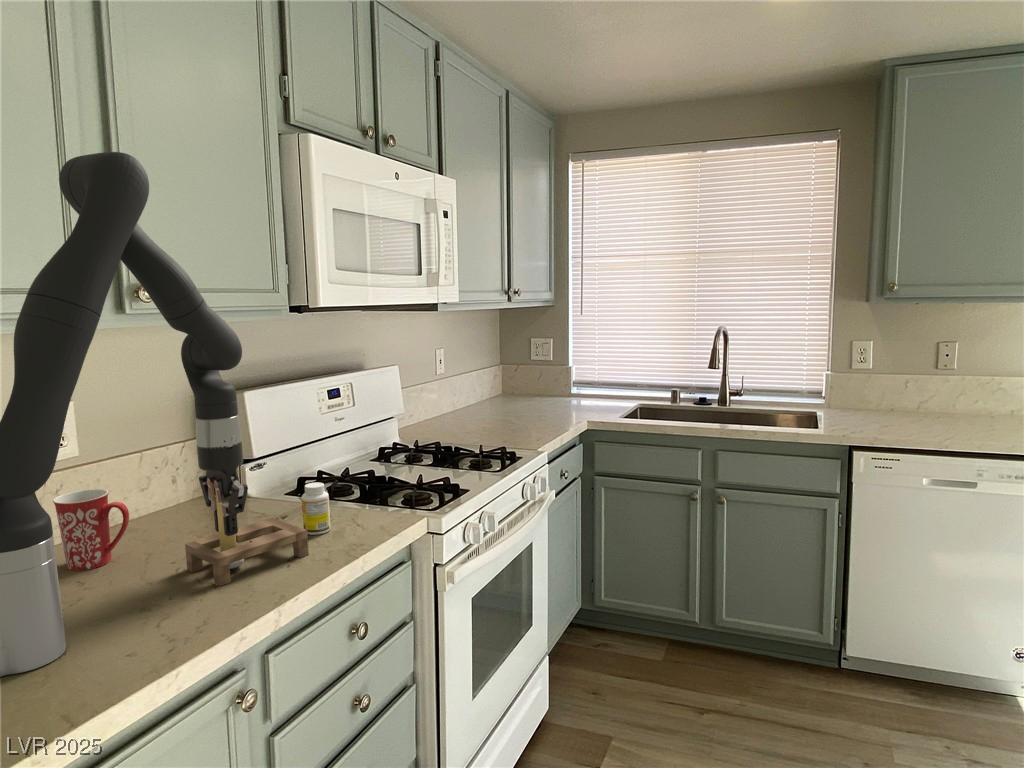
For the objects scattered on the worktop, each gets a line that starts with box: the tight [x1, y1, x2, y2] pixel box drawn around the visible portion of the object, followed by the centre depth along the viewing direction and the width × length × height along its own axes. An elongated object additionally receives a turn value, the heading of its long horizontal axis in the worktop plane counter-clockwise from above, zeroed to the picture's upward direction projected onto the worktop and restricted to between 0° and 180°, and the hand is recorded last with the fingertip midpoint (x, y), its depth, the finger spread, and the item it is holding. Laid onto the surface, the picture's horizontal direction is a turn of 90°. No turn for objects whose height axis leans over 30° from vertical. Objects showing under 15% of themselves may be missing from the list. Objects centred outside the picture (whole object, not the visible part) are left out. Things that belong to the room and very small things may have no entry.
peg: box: [215, 489, 245, 570], centre depth 128 cm, size 5×5×15 cm
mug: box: [52, 488, 130, 571], centre depth 132 cm, size 13×9×14 cm
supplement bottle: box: [301, 481, 331, 536], centre depth 147 cm, size 6×6×10 cm
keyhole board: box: [184, 517, 309, 587], centre depth 131 cm, size 18×12×5 cm, turn 140°
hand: (226, 532), depth 128 cm, fingers closed on peg, 2 cm apart
